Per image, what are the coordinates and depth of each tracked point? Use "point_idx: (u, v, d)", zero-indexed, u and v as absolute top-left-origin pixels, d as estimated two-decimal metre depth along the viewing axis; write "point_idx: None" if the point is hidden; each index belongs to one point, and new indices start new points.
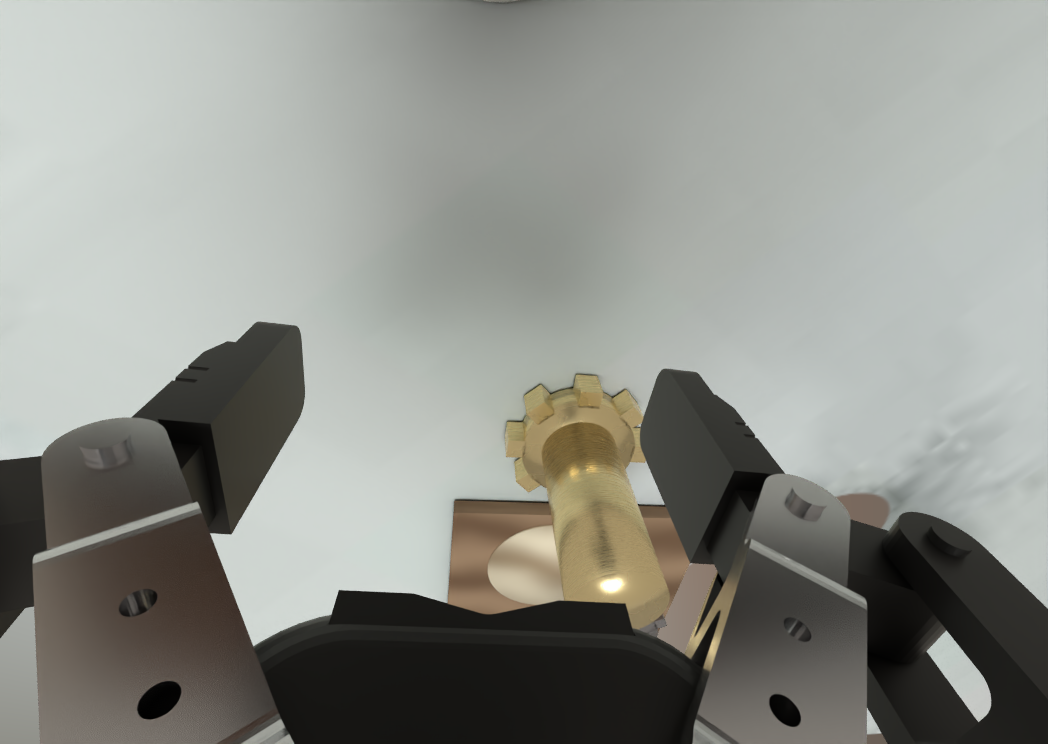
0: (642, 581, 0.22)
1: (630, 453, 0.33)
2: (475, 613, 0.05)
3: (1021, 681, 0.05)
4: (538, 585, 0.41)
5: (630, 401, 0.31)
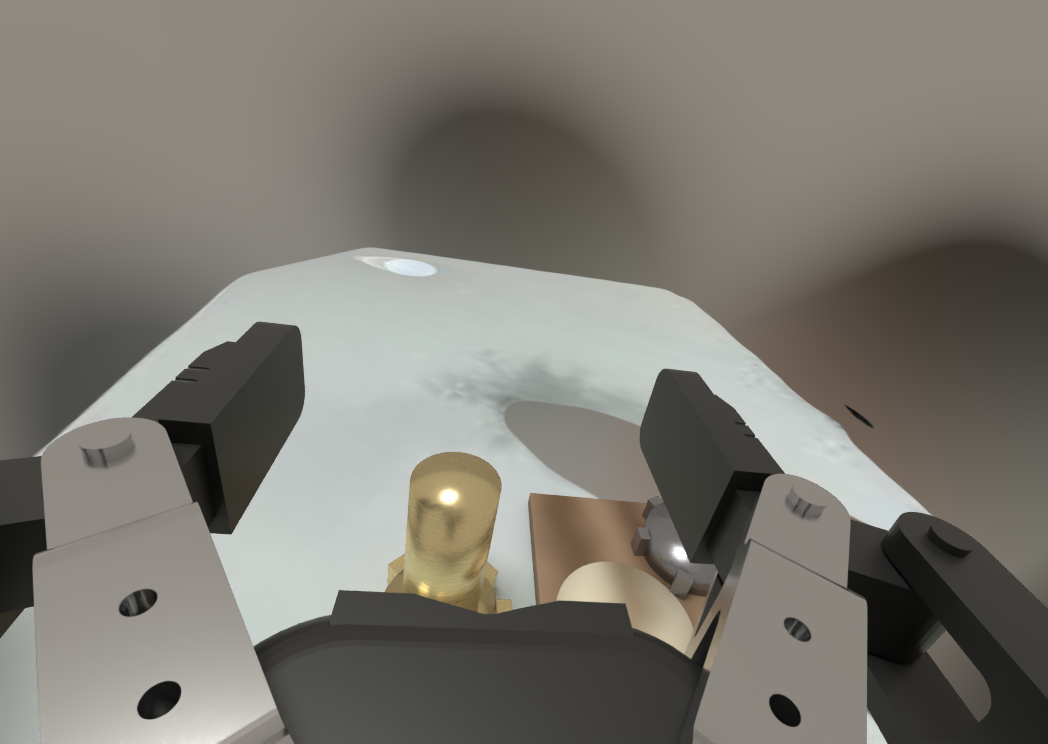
0: (424, 469, 0.27)
1: None
2: (475, 614, 0.05)
3: (1021, 681, 0.05)
4: (658, 630, 0.34)
5: (388, 571, 0.35)
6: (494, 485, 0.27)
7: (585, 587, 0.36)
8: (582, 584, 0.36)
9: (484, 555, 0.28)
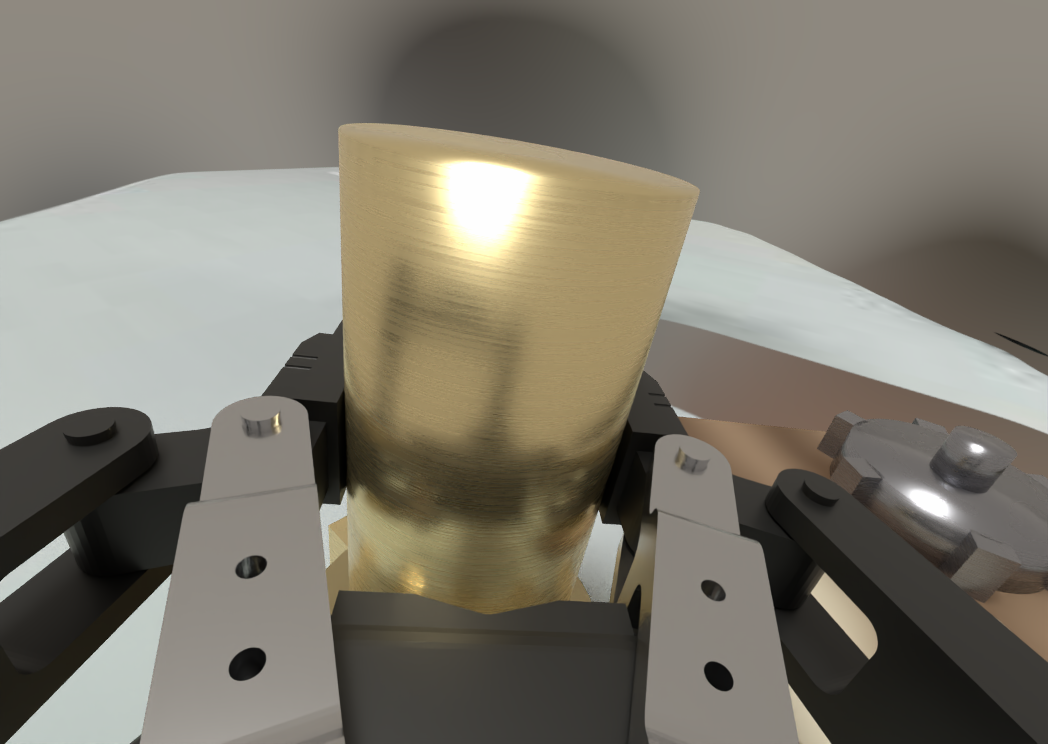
0: (402, 129, 0.07)
1: None
2: (475, 613, 0.05)
3: (900, 618, 0.06)
4: None
5: (330, 543, 0.15)
6: (664, 178, 0.07)
7: None
8: None
9: (613, 455, 0.08)
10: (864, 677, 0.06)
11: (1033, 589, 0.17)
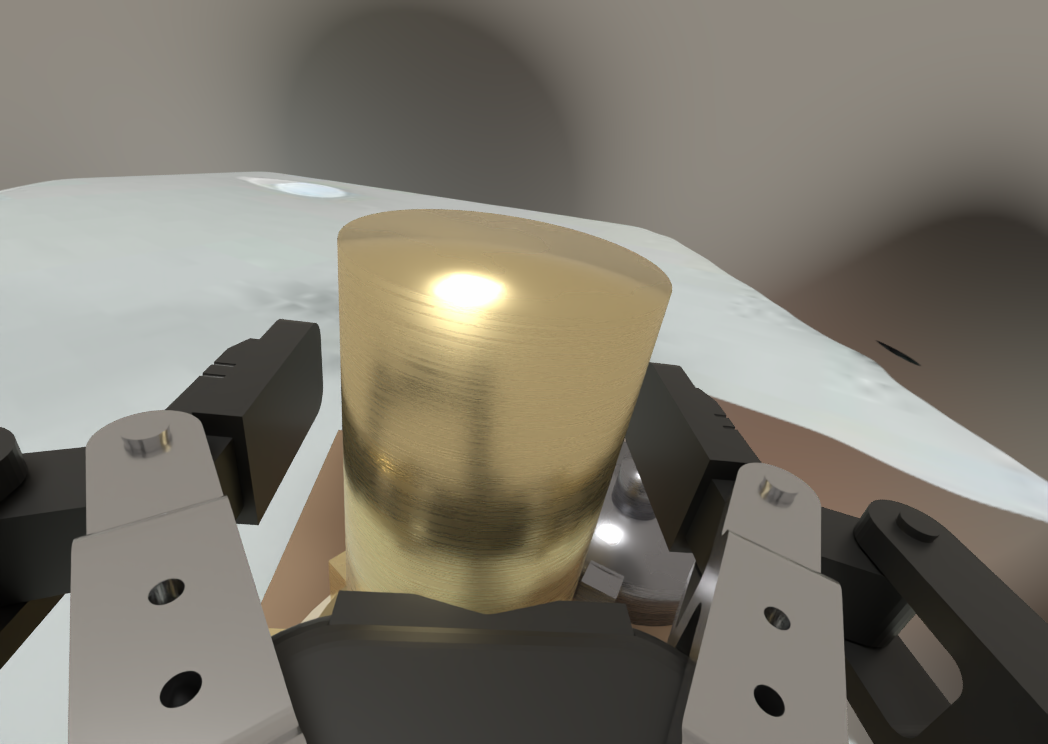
0: (397, 221, 0.08)
1: None
2: (475, 613, 0.05)
3: (991, 664, 0.05)
4: None
5: (330, 576, 0.15)
6: (641, 269, 0.08)
7: None
8: None
9: (596, 520, 0.09)
10: (945, 723, 0.06)
11: (665, 621, 0.17)
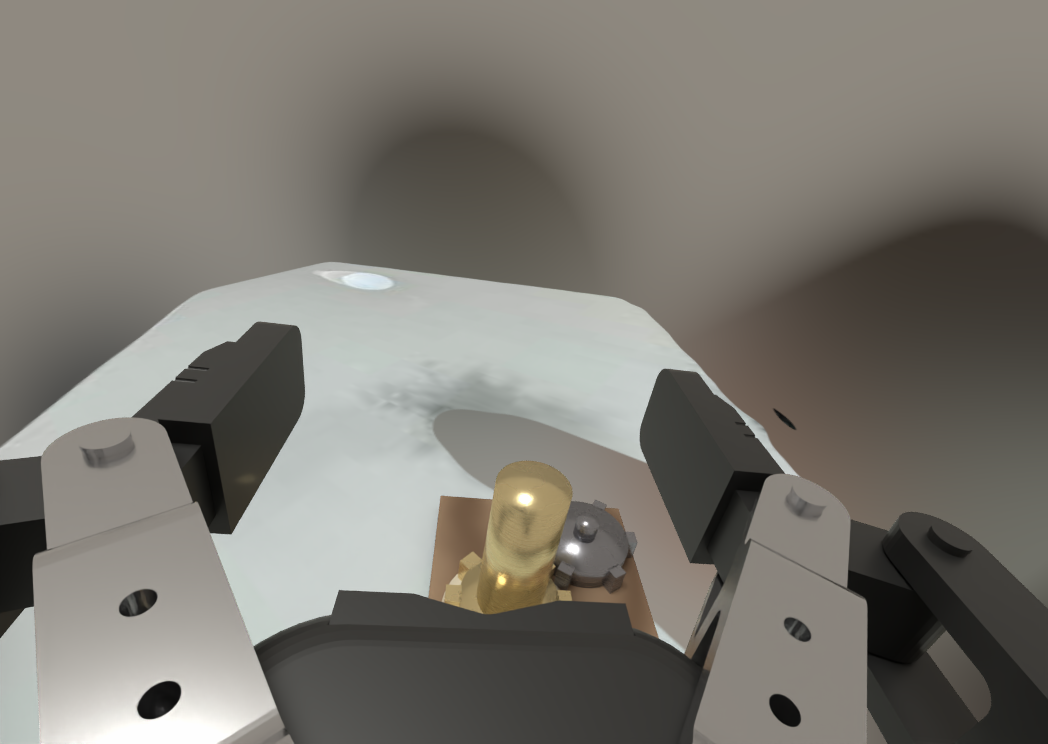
0: (505, 476, 0.32)
1: None
2: (475, 613, 0.05)
3: (1021, 681, 0.05)
4: None
5: (459, 567, 0.39)
6: (566, 489, 0.32)
7: None
8: None
9: (556, 550, 0.32)
10: (971, 741, 0.06)
11: (593, 586, 0.41)
